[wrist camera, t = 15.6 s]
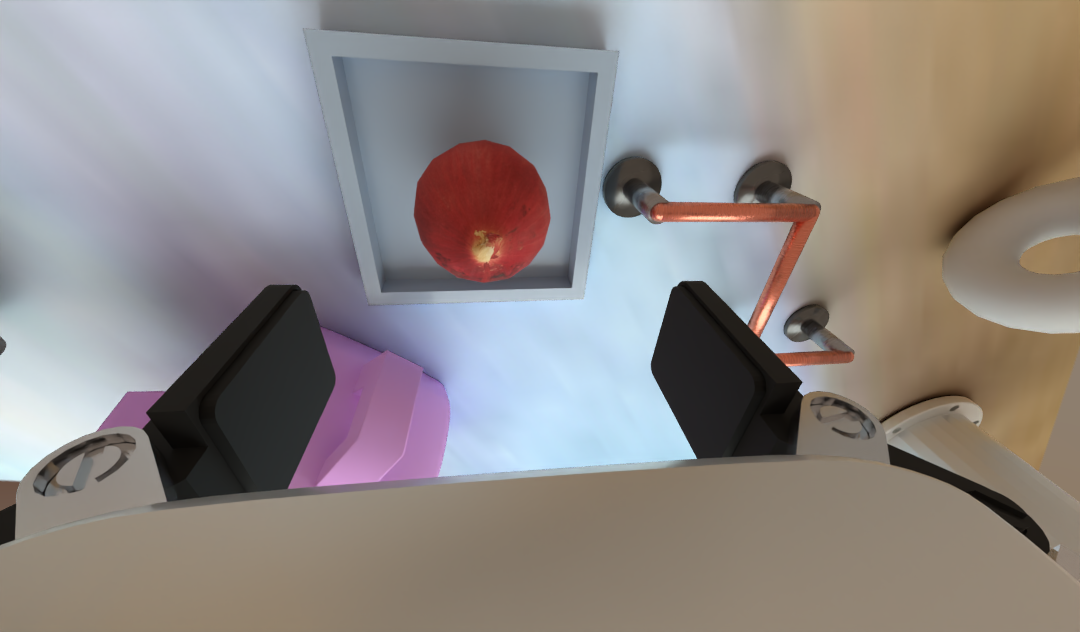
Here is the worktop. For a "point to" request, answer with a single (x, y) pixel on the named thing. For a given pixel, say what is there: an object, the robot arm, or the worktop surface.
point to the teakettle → (356, 419)
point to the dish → (445, 121)
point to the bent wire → (754, 201)
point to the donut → (1017, 261)
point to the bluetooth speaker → (2, 345)
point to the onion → (482, 211)
